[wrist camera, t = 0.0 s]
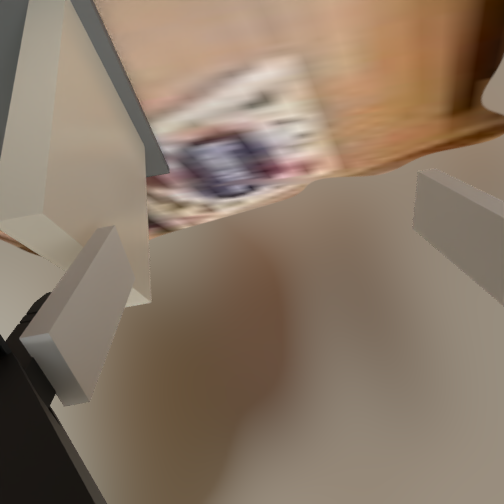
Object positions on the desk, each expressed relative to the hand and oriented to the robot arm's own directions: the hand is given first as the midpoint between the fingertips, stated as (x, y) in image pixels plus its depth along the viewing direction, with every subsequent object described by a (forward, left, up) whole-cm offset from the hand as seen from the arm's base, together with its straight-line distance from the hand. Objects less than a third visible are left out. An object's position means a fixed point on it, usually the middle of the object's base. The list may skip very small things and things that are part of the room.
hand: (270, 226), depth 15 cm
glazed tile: (+3, -9, -15) cm, 18 cm away
